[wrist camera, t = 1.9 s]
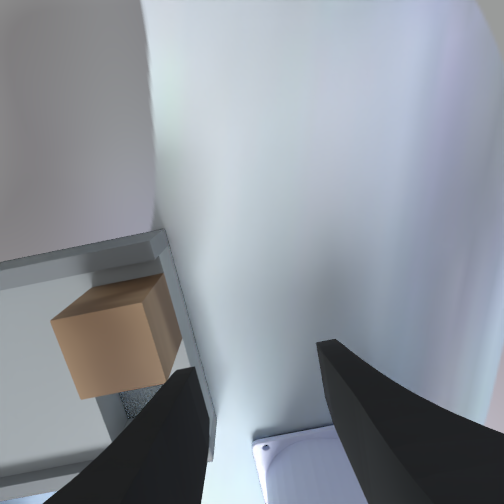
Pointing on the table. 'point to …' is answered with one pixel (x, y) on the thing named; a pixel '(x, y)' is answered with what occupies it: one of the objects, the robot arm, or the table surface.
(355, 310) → the table surface
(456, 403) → the table surface
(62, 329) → the block
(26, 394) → the trap lane
